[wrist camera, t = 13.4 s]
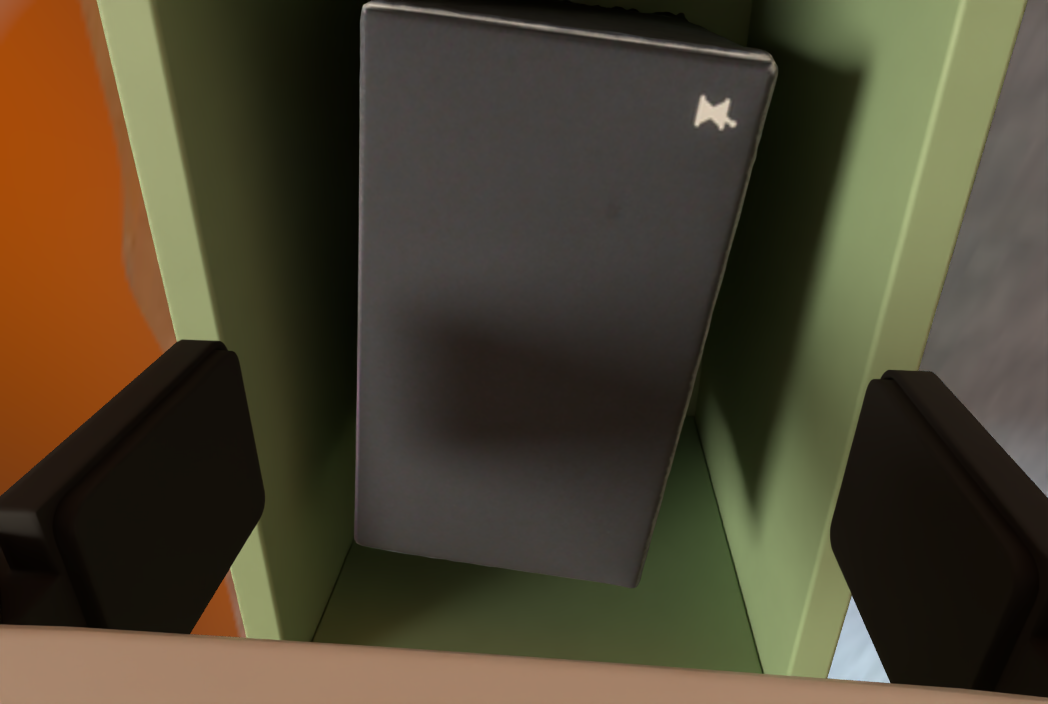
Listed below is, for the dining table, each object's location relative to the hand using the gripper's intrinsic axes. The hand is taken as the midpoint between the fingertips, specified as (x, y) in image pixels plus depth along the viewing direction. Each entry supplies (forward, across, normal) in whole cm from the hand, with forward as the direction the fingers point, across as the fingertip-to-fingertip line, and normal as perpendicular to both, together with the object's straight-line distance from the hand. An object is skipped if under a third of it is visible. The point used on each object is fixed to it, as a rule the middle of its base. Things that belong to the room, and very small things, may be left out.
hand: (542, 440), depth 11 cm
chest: (+13, 0, 0) cm, 13 cm away
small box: (+13, 0, 0) cm, 13 cm away
